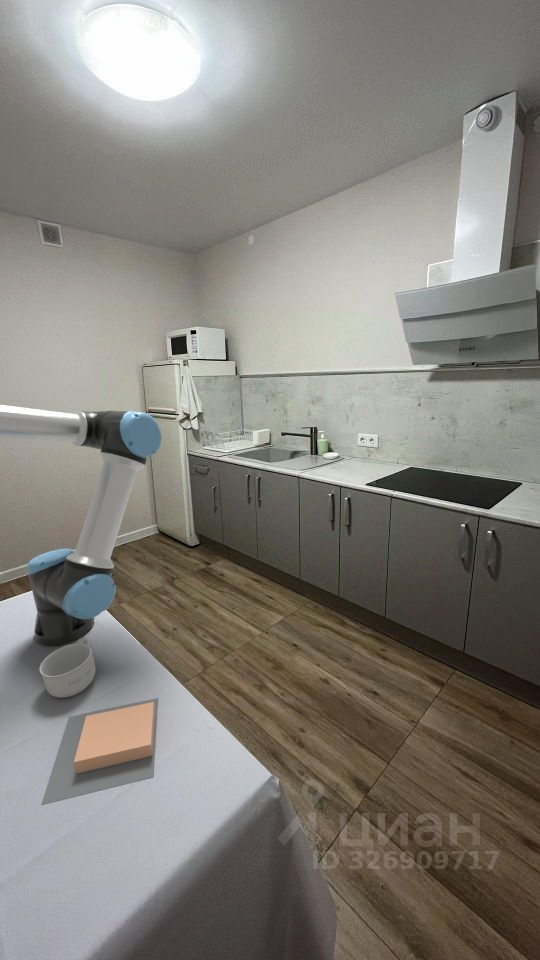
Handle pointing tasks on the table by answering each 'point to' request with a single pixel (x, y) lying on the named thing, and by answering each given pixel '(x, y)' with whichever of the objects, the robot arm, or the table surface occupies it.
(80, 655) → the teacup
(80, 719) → the mat
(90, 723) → the tile
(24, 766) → the table surface
